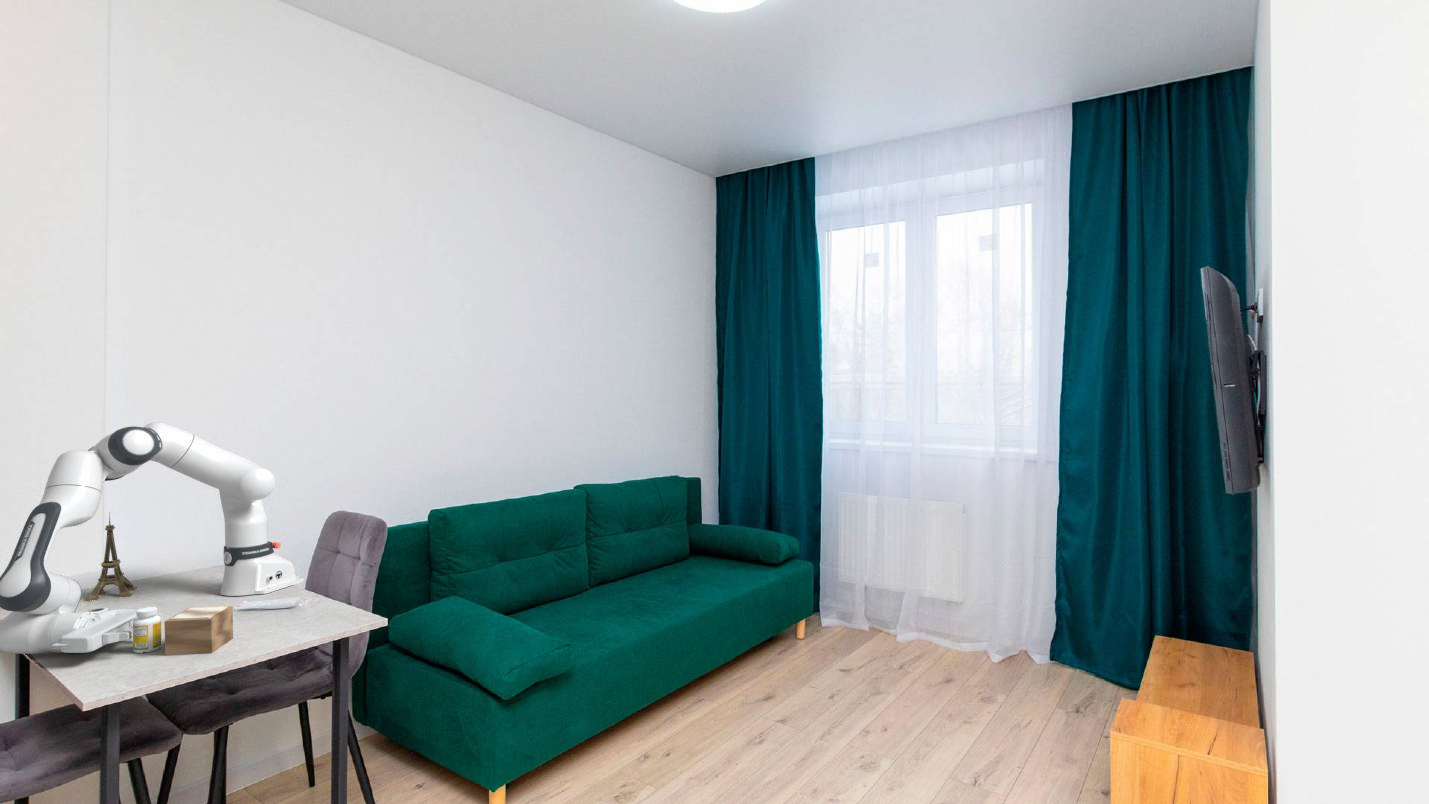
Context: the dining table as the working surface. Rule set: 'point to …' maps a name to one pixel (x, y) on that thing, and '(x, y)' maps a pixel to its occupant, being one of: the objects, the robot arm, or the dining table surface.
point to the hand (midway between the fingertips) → (142, 628)
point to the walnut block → (198, 630)
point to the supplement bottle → (147, 630)
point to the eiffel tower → (118, 577)
